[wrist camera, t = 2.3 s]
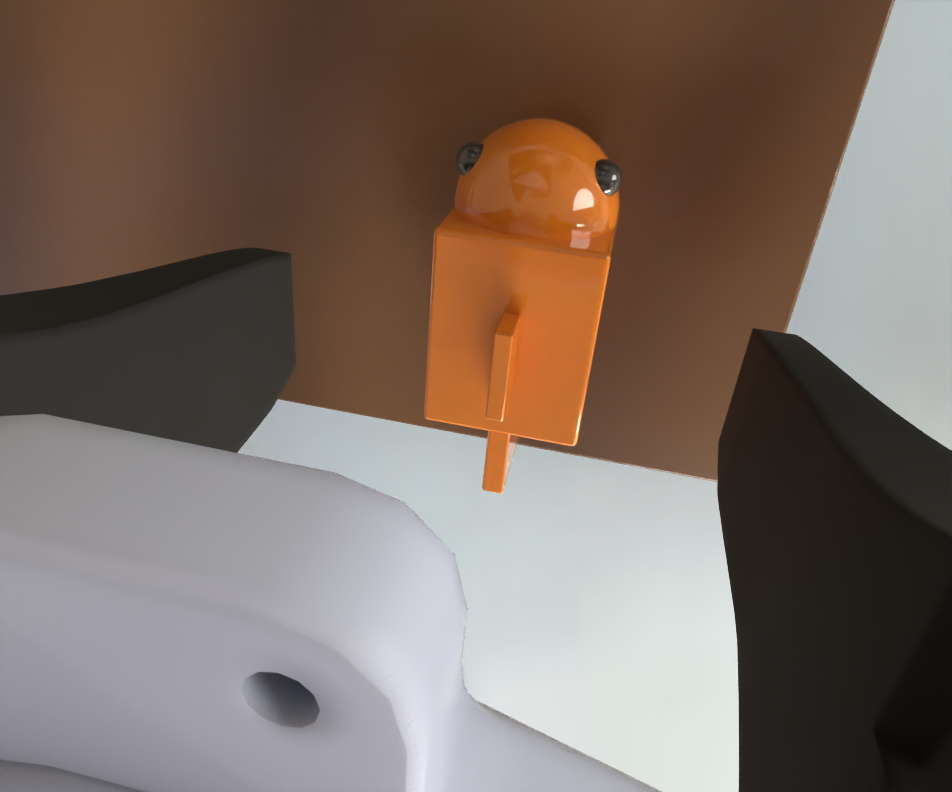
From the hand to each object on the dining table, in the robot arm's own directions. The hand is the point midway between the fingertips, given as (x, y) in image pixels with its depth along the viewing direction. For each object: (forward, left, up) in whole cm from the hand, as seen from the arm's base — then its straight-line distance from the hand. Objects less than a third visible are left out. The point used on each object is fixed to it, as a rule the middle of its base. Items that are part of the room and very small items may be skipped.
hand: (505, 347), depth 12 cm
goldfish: (0, 0, -4) cm, 4 cm away
